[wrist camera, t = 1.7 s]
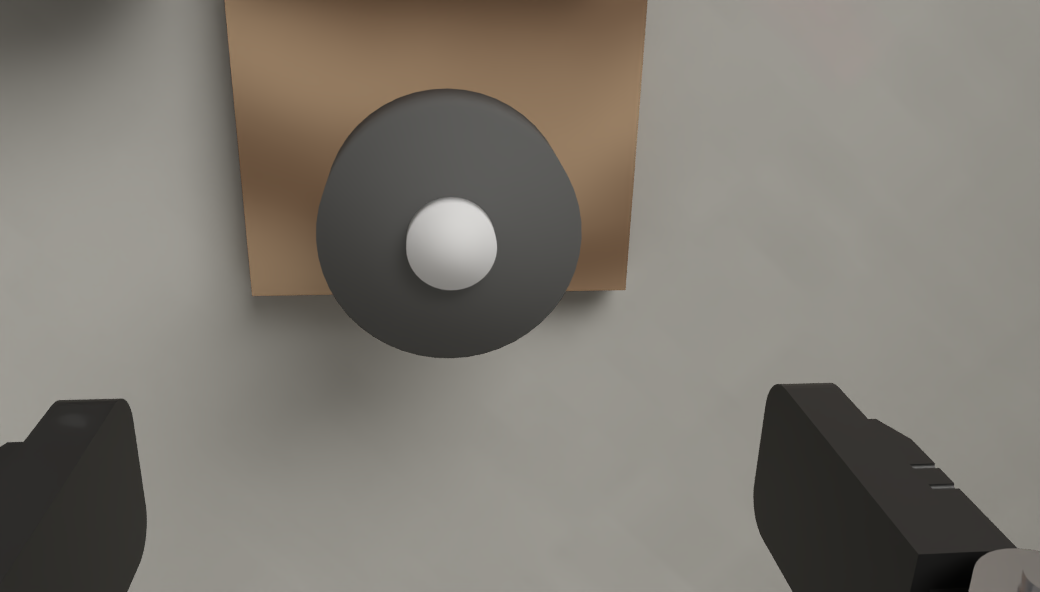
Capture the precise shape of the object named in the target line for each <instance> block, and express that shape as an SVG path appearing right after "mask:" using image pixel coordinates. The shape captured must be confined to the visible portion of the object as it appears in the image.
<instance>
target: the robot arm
mask: <svg viewBox="0 0 1040 592" xmlns="http://www.w3.org/2000/svg"><path fill="white" fill-rule="evenodd" d="M753 498H754V511H755V518H756V522H757V526H758V529H759V532H760V535H761V537H762V539H763V540H764V542H765V544H766V546H767V547H768V549H769V551H770V553H771V554H772V556H773V558H774V560H775V561H776V563H777V565H778V567H779V569H780V570H781V572H782V574H783V576H784V577H785V579H786V581H787V583H788V584H789V586H790V588H791V590H792V591H793V592H1040V551H1036V550H1031V549H1020V548H1017V547H1016V546H1015V545H1014V544H1013V543H1012V542H1011V541H1010V540H1009V539H1008V538H1007V537H1006V536H1005V535H1004V534H1003V533H1002V532H1001V531H1000V530H999V529H998V528H997V527H996V526H995V525H994V524H993V523H992V522H991V521H990V520H989V519H988V518H987V517H986V516H985V515H984V514H983V513H982V512H981V510H980V509H979V508H978V507H977V506H976V505H975V504H974V503H973V502H972V501H971V500H970V499H969V498H968V497H967V496H966V495H965V494H964V493H963V492H962V491H961V490H960V489H955V488H954V483H953V482H952V481H951V480H950V479H949V478H948V477H947V476H946V474H945V473H944V472H943V471H942V470H941V469H940V468H935V463H934V462H933V461H932V460H931V459H930V458H929V457H928V456H927V455H926V454H925V453H924V452H923V451H922V450H921V449H920V448H919V447H918V446H917V445H916V444H915V443H914V442H913V441H912V440H911V439H910V438H908V437H906V436H905V435H903V434H901V433H899V432H898V431H896V430H894V429H892V428H891V427H889V426H887V425H885V424H884V423H882V422H880V421H878V420H877V419H867V417H866V416H865V415H864V414H863V413H862V412H861V411H860V410H859V409H858V408H857V407H856V406H855V405H854V403H853V402H852V401H851V400H850V399H849V398H848V397H847V396H846V395H845V394H844V393H843V392H842V390H841V389H840V388H839V387H838V386H837V385H835V384H833V383H807V384H776V385H774V386H773V387H772V388H771V390H770V392H769V394H768V397H767V401H766V406H765V413H764V420H763V427H762V434H761V441H760V448H759V455H758V462H757V469H756V476H755V483H754V496H753ZM146 528H147V515H146V504H145V498H144V491H143V484H142V477H141V470H140V463H139V457H138V450H137V443H136V436H135V429H134V422H133V417H132V412H131V409H130V407H129V404H128V403H127V401H126V400H124V399H90V400H59V401H56V402H55V403H54V404H53V405H52V406H51V407H50V408H49V410H48V411H47V412H46V414H45V415H44V416H43V418H42V419H41V420H40V421H39V423H38V424H37V425H36V427H35V428H34V429H33V431H32V432H31V433H30V434H29V436H28V437H27V438H26V440H25V441H24V442H7V443H6V444H4V445H3V446H1V447H0V592H127V591H128V589H129V587H130V584H131V582H132V580H133V577H134V575H135V573H136V571H137V568H138V566H139V564H140V561H141V558H142V555H143V551H144V546H145V540H146Z"/></svg>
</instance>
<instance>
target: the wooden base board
mask: <svg viewBox="0 0 1040 592" xmlns="http://www.w3.org/2000/svg"><path fill="white" fill-rule="evenodd" d="M224 2H225V12H226V23H227V34H228V44H229V55H230V66H231V76H232V87H233V98H234V108H235V119H236V129H237V140H238V151H239V161H240V172H241V183H242V193H243V204H244V215H245V225H246V236H247V247H248V257H249V268H250V279H251V289H252V296H281V295H333V294H332V292H331V290H330V289H329V287H328V284H327V282H326V280H325V277H324V275H323V273H322V269H321V265H320V262H319V258H318V252H317V244H316V222H317V215H318V208H319V204H320V201H321V198H322V194H323V191H324V188H325V185H326V182H327V179H328V176H329V173H330V170H331V167H332V164H333V162H334V160H335V158H336V155H337V153H338V151H339V149H340V148H341V146H342V145H343V143H344V142H345V140H346V138H347V137H348V136H349V135H350V134H351V132H352V131H353V130H354V129H355V128H356V127H357V125H358V124H360V123H361V122H362V121H363V120H364V119H365V118H366V117H367V116H369V115H370V114H371V113H373V112H374V111H376V110H377V109H378V108H380V107H381V106H383V105H385V104H387V103H389V102H391V101H393V100H395V99H397V98H399V97H402V96H405V95H408V94H411V93H414V92H420V91H425V90H430V89H446V88H448V89H461V90H468V91H473V92H477V93H481V94H484V95H487V96H490V97H493V98H496V99H497V100H499V101H501V102H503V103H505V104H507V105H509V106H511V107H512V108H514V109H515V110H517V111H518V112H520V113H521V114H523V115H524V116H525V117H526V118H527V119H528V120H529V121H530V122H532V123H533V124H534V125H535V126H536V127H537V129H538V130H539V131H540V132H541V133H542V135H543V136H544V137H545V138H546V140H547V141H548V143H549V144H550V146H551V148H552V149H553V151H554V153H555V154H556V156H557V158H558V159H559V161H560V163H561V165H562V166H563V168H564V170H565V172H566V173H567V175H568V177H569V180H570V182H571V184H572V186H573V188H574V191H575V194H576V198H577V201H578V204H579V210H580V216H581V233H582V239H581V247H580V255H579V258H578V262H577V266H576V270H575V272H574V275H573V277H572V280H571V282H570V284H569V286H568V288H567V290H566V291H595V290H625V288H626V274H627V261H628V248H629V235H630V222H631V209H632V196H633V183H634V170H635V157H636V144H637V130H638V117H639V104H640V91H641V78H642V65H643V52H644V39H645V26H646V13H647V0H224Z"/></svg>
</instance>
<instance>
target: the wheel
mask: <svg viewBox="0 0 1040 592" xmlns="http://www.w3.org/2000/svg"><path fill="white" fill-rule="evenodd" d="M581 239H582V233H581V216H580V210H579V204H578V201H577V198H576V194H575V191H574V188H573V186H572V184H571V182H570V180H569V177H568V175H567V173H566V172H565V170H564V168H563V166H562V165H561V163H560V161H559V159H558V158H557V156H556V154H555V153H554V151H553V149H552V148H551V146H550V144H549V143H548V141H547V140H546V138H545V137H544V136H543V135H542V133H541V132H540V131H539V130H538V129H537V127H536V126H535V125H534V124H533V123H532V122H530V121H529V120H528V119H527V118H526V117H525V116H524V115H523V114H521V113H520V112H518V111H517V110H515V109H514V108H512V107H511V106H509V105H507V104H505V103H503V102H501V101H499V100H497V99H496V98H493V97H490V96H487V95H484V94H481V93H477V92H473V91H468V90H461V89H448V88H446V89H430V90H425V91H420V92H414V93H411V94H408V95H405V96H402V97H399V98H397V99H395V100H393V101H391V102H389V103H387V104H385V105H383V106H381V107H380V108H378V109H377V110H376V111H374V112H373V113H371V114H370V115H369V116H367V117H366V118H365V119H364V120H363V121H362V122H361V123H360V124H358V125H357V127H356V128H355V129H354V130H353V131H352V132H351V134H350V135H349V136H348V137H347V138H346V140H345V142H344V143H343V145H342V146H341V148H340V149H339V151H338V153H337V155H336V158H335V160H334V162H333V164H332V167H331V170H330V173H329V176H328V179H327V182H326V185H325V188H324V191H323V194H322V198H321V201H320V204H319V208H318V215H317V222H316V244H317V252H318V258H319V262H320V265H321V269H322V273H323V275H324V277H325V280H326V282H327V284H328V287H329V289H330V290H331V292H332V294H333V295H334V297H335V299H336V300H337V302H338V303H339V305H340V306H341V307H342V308H343V310H344V311H345V312H346V313H347V314H348V316H349V317H350V318H352V319H353V320H354V321H355V322H356V323H357V324H358V325H359V326H360V327H361V328H363V329H364V330H365V331H367V332H368V333H369V334H371V335H372V336H373V337H375V338H377V339H379V340H381V341H382V342H384V343H386V344H388V345H390V346H393V347H395V348H397V349H400V350H402V351H406V352H409V353H413V354H416V355H421V356H428V357H434V358H459V357H469V356H474V355H479V354H484V353H487V352H490V351H493V350H496V349H499V348H501V347H503V346H506V345H508V344H510V343H512V342H514V341H516V340H517V339H519V338H521V337H522V336H524V335H526V334H527V333H529V332H530V331H531V330H532V329H534V328H535V327H536V326H537V325H539V324H540V323H541V322H542V321H543V320H544V319H545V318H546V317H547V316H548V315H549V314H550V313H551V312H552V310H553V309H554V308H555V306H556V305H557V304H558V302H559V301H560V300H561V298H562V297H563V295H564V293H565V291H566V290H567V288H568V286H569V284H570V282H571V280H572V277H573V275H574V272H575V270H576V266H577V262H578V258H579V255H580V247H581Z"/></svg>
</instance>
